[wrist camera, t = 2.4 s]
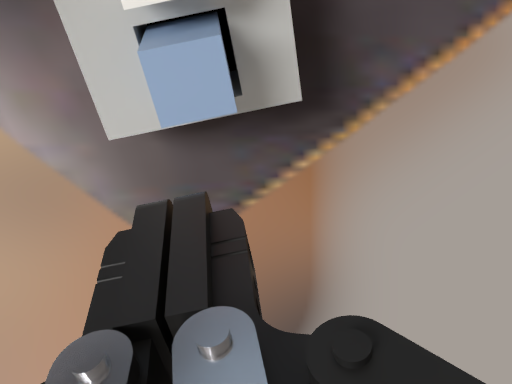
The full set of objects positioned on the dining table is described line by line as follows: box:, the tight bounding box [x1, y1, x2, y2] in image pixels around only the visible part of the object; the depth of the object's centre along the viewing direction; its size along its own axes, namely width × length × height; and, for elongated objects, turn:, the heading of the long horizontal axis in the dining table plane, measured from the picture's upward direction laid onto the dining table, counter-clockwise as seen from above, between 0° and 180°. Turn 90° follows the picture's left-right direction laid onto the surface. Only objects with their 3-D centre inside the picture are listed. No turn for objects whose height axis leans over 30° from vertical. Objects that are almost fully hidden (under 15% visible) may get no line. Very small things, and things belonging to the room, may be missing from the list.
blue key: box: [137, 12, 237, 128], centre depth 21 cm, size 3×3×4 cm
